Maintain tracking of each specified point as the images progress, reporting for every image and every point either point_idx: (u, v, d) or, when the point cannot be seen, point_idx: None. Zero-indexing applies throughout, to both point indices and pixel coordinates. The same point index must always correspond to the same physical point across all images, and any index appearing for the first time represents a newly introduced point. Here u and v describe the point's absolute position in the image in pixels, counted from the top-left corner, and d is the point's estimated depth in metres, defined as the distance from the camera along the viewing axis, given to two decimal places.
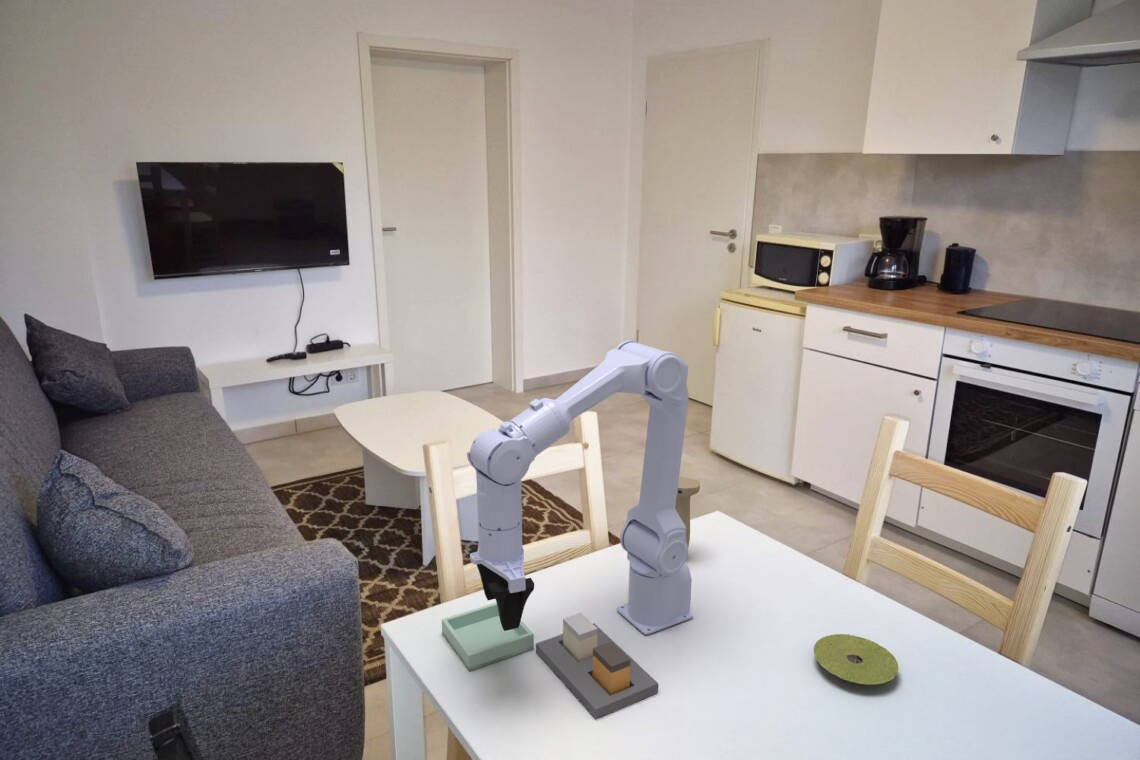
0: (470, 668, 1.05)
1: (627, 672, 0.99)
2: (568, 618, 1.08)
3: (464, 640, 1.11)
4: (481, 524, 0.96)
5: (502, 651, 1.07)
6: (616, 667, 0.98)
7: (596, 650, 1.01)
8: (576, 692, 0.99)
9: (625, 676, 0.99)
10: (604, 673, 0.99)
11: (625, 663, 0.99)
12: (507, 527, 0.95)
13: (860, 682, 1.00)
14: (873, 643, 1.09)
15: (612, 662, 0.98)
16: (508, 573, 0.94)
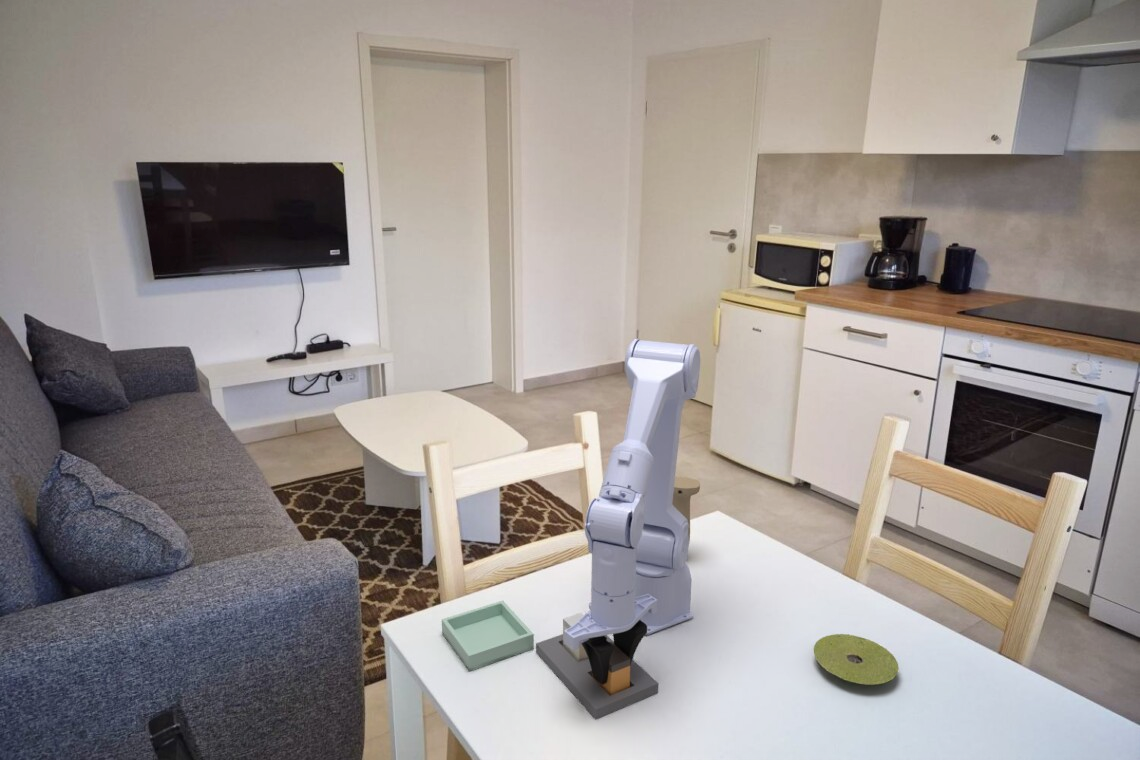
0: (470, 668, 1.05)
1: (627, 672, 0.99)
2: (568, 618, 1.08)
3: (464, 640, 1.11)
4: (607, 593, 0.95)
5: (502, 651, 1.07)
6: (616, 667, 0.98)
7: None
8: (576, 692, 0.99)
9: (625, 676, 0.99)
10: None
11: (625, 662, 0.99)
12: (633, 588, 0.96)
13: (860, 682, 1.00)
14: (873, 643, 1.09)
15: (612, 662, 0.98)
16: None
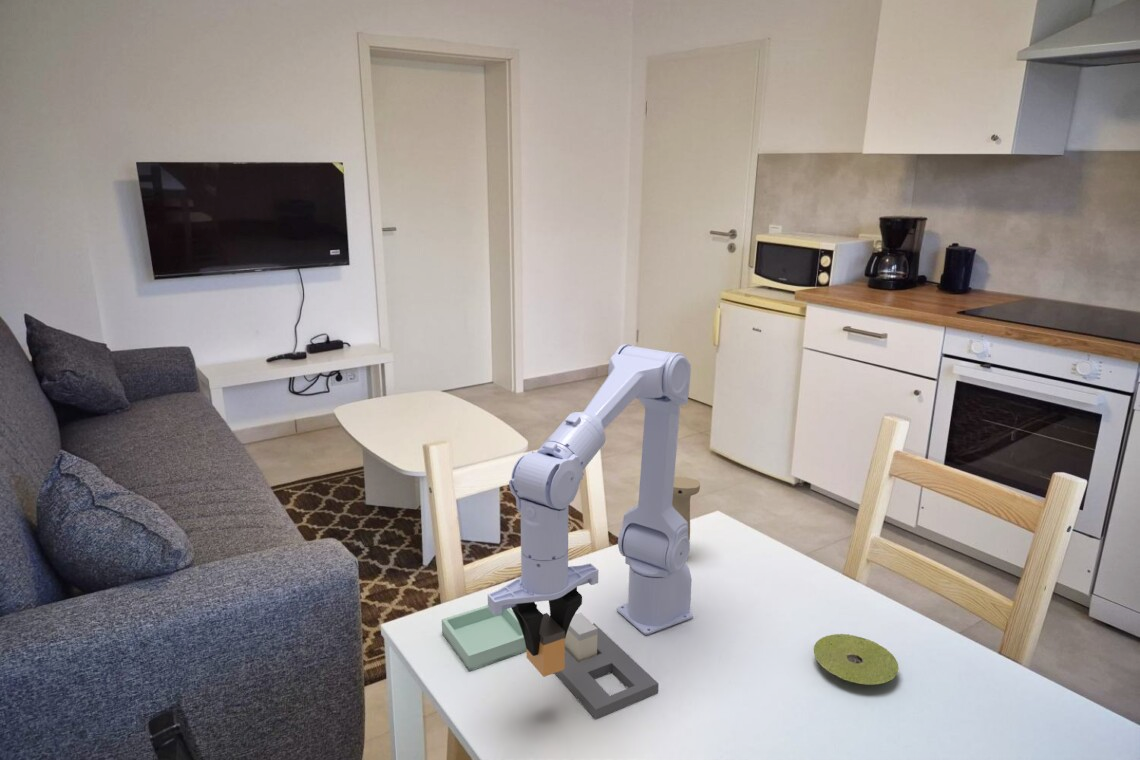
0: (470, 668, 1.05)
1: (561, 645, 0.92)
2: None
3: (464, 640, 1.11)
4: (531, 556, 0.88)
5: (502, 651, 1.07)
6: (549, 639, 0.91)
7: None
8: (576, 692, 0.99)
9: (559, 649, 0.92)
10: None
11: (559, 634, 0.92)
12: (561, 554, 0.88)
13: (860, 682, 1.00)
14: (873, 643, 1.09)
15: (545, 634, 0.91)
16: None
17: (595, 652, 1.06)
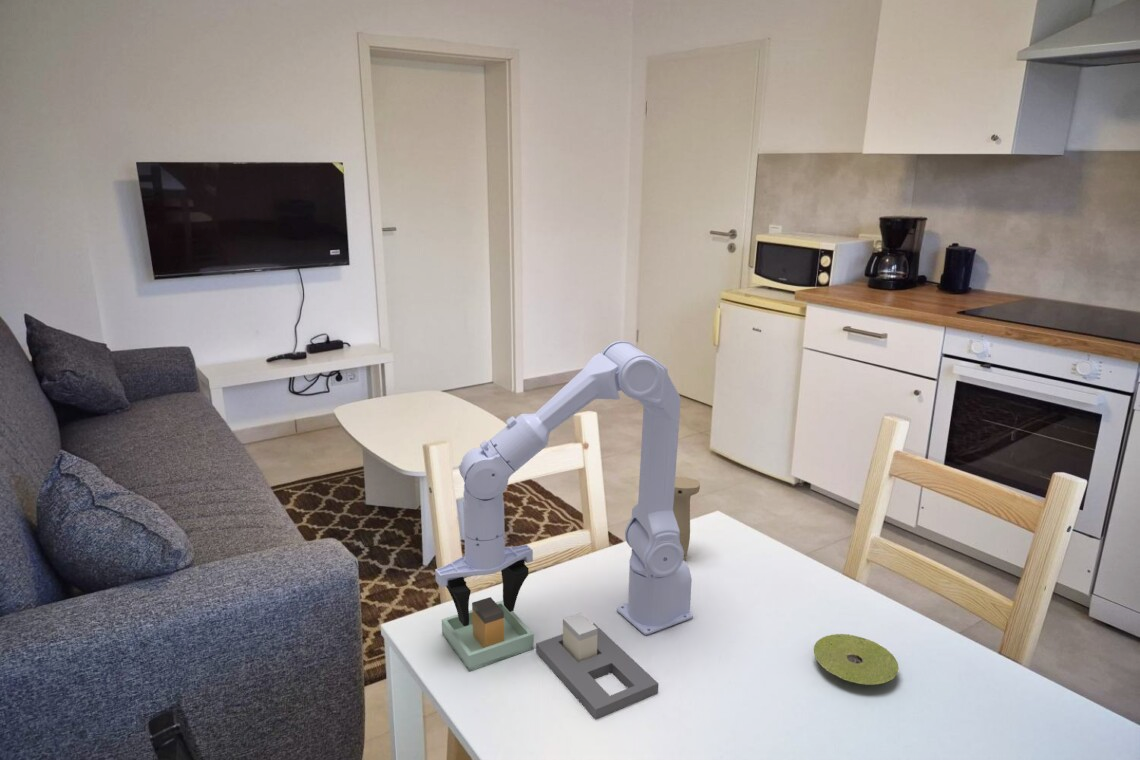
0: (470, 668, 1.05)
1: (501, 623, 1.09)
2: (568, 618, 1.08)
3: (464, 640, 1.11)
4: (464, 532, 1.05)
5: (502, 651, 1.07)
6: (489, 618, 1.07)
7: (474, 604, 1.10)
8: (576, 692, 0.99)
9: (499, 627, 1.09)
10: (480, 624, 1.09)
11: (499, 615, 1.08)
12: (484, 538, 1.04)
13: (860, 682, 1.00)
14: (873, 643, 1.09)
15: (486, 614, 1.08)
16: None
17: (595, 652, 1.06)
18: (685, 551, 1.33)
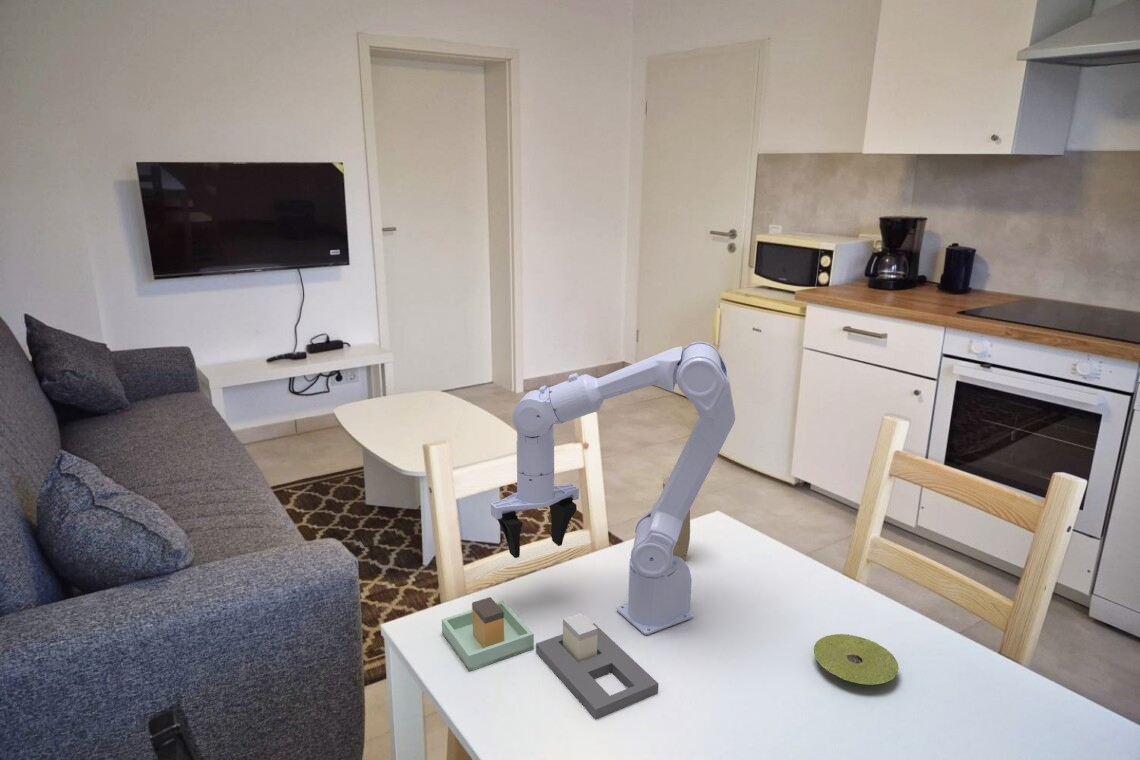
0: (470, 668, 1.05)
1: (501, 623, 1.09)
2: (568, 618, 1.08)
3: (464, 640, 1.11)
4: None
5: (502, 651, 1.07)
6: (489, 618, 1.07)
7: (474, 604, 1.10)
8: (576, 692, 0.99)
9: (499, 627, 1.09)
10: (480, 624, 1.09)
11: (499, 615, 1.08)
12: (528, 473, 1.12)
13: (860, 682, 1.00)
14: (873, 643, 1.09)
15: (486, 614, 1.08)
16: None
17: (595, 652, 1.06)
18: (685, 551, 1.33)
